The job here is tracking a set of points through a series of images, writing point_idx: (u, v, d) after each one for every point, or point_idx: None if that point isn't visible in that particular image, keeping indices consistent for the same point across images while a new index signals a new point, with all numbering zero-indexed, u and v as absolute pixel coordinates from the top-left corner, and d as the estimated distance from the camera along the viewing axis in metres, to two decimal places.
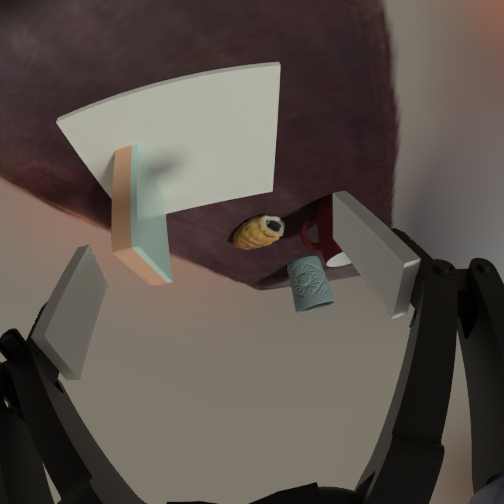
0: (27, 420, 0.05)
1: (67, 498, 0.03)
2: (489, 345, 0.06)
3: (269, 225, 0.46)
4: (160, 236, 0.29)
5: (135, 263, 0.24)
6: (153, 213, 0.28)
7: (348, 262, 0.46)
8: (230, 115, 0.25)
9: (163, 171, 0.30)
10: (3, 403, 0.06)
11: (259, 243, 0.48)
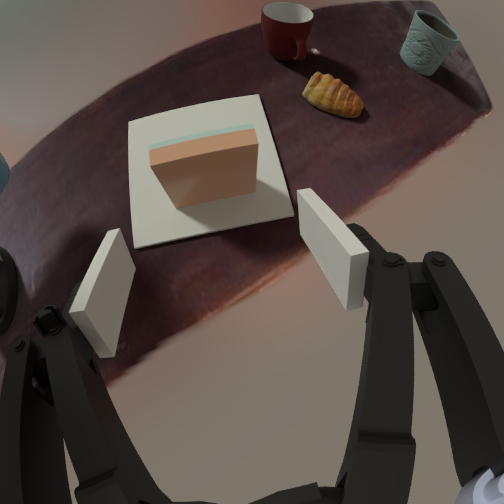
0: (55, 399, 0.06)
1: (86, 486, 0.04)
2: (454, 340, 0.07)
3: None
4: None
5: (181, 150, 0.25)
6: None
7: (308, 10, 0.34)
8: (162, 136, 0.38)
9: None
10: (30, 386, 0.07)
11: (332, 86, 0.37)
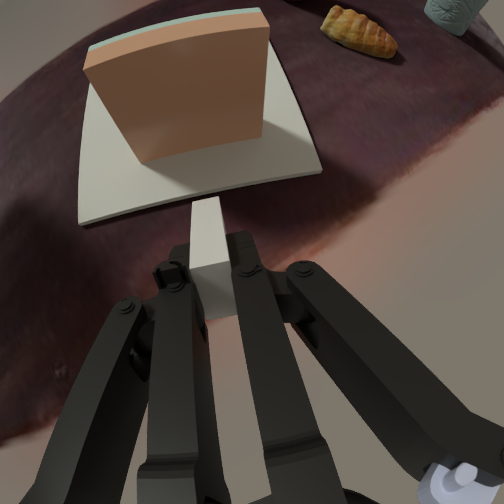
0: (153, 362, 0.07)
1: (155, 468, 0.04)
2: (345, 354, 0.07)
3: None
4: None
5: (136, 42, 0.11)
6: None
7: None
8: None
9: None
10: (126, 358, 0.08)
11: (358, 19, 0.24)
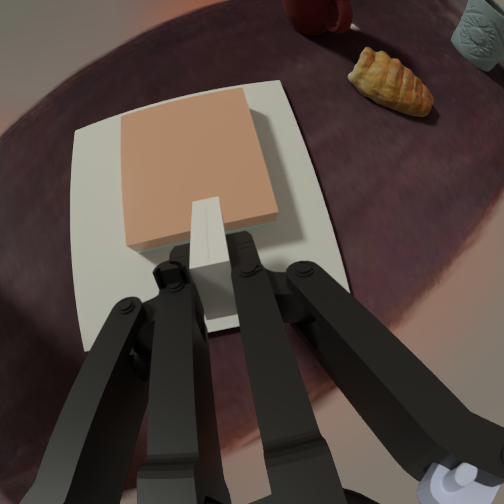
0: (153, 362, 0.07)
1: (155, 468, 0.04)
2: (345, 354, 0.07)
3: None
4: None
5: None
6: None
7: None
8: None
9: None
10: (126, 358, 0.08)
11: (393, 69, 0.21)
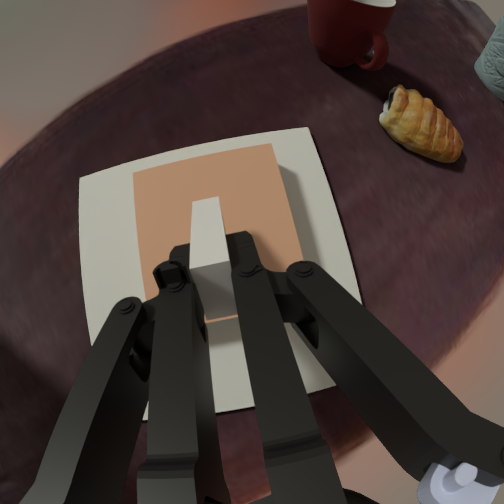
0: (153, 362, 0.07)
1: (155, 468, 0.04)
2: (345, 354, 0.07)
3: None
4: None
5: None
6: None
7: None
8: (134, 211, 0.21)
9: None
10: (126, 358, 0.08)
11: (427, 113, 0.21)
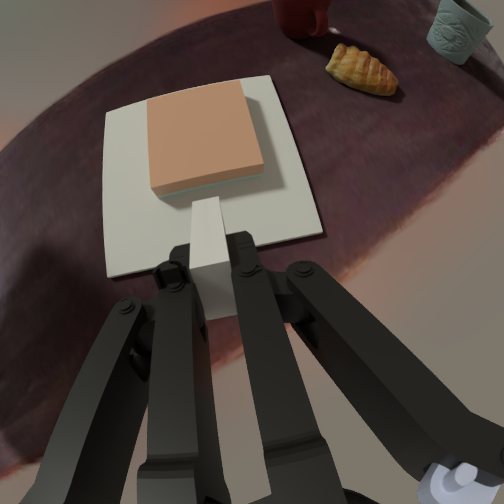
0: (153, 363, 0.07)
1: (155, 468, 0.04)
2: (345, 354, 0.07)
3: None
4: None
5: None
6: None
7: None
8: (145, 127, 0.28)
9: None
10: (126, 358, 0.08)
11: (361, 59, 0.28)
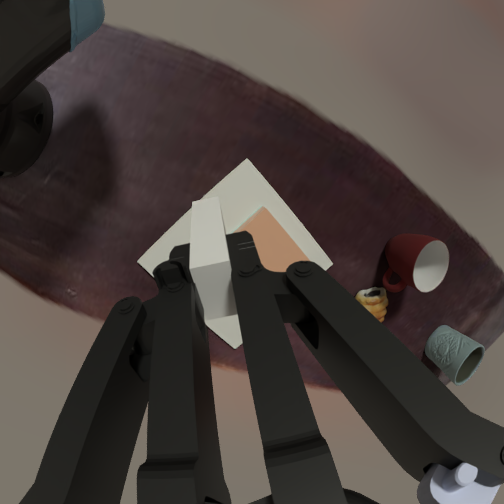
0: (153, 362, 0.07)
1: (155, 468, 0.04)
2: (345, 354, 0.07)
3: (369, 296, 0.45)
4: None
5: None
6: None
7: (441, 278, 0.38)
8: (246, 210, 0.39)
9: None
10: (126, 358, 0.08)
11: None
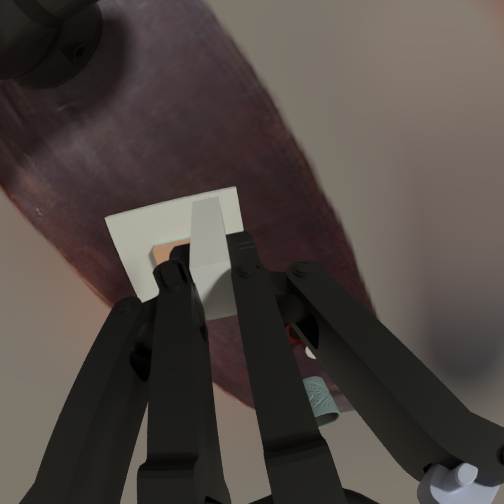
0: (153, 363, 0.07)
1: (155, 468, 0.04)
2: (345, 354, 0.07)
3: None
4: None
5: None
6: None
7: None
8: None
9: None
10: (126, 358, 0.08)
11: None
